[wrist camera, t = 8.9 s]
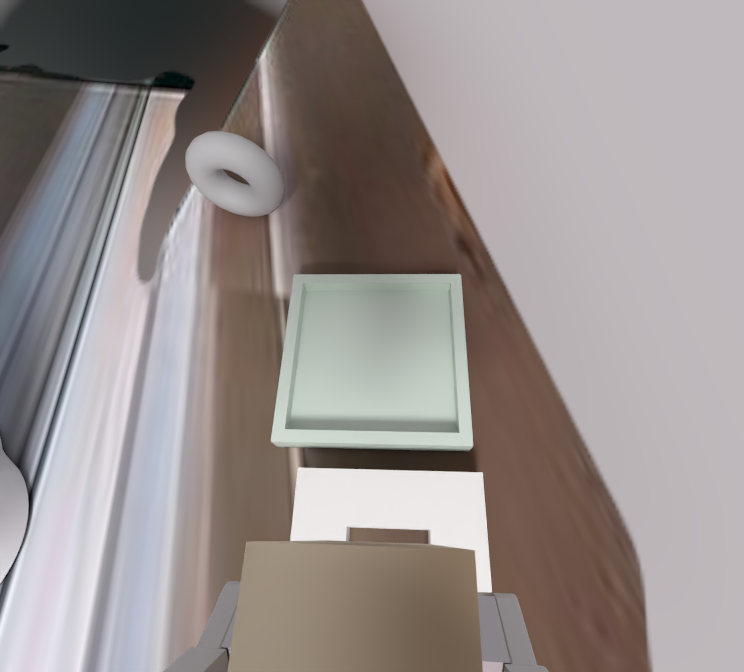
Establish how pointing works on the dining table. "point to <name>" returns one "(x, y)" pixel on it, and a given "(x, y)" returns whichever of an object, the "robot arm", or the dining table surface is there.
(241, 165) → the donut
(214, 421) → the dining table surface
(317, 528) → the pocket plate
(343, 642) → the maple block
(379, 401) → the tray
